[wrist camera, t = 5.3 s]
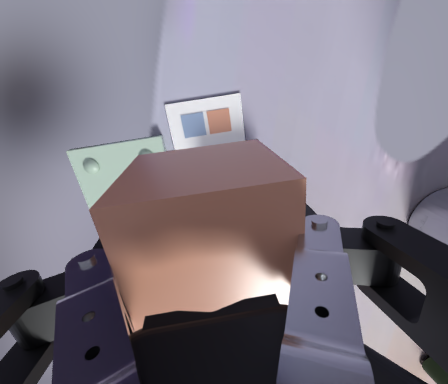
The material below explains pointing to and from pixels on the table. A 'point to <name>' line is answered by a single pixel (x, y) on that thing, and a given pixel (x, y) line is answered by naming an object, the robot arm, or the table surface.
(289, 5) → the table surface
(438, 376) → the character mug
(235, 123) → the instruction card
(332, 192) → the table surface
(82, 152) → the baseplate
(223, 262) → the brick terracotta
